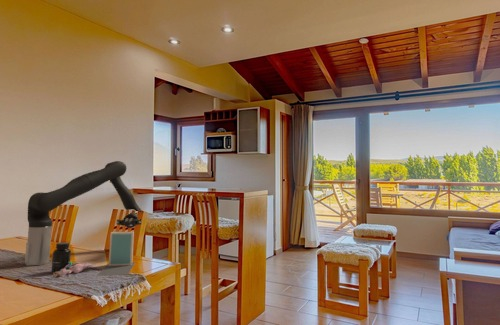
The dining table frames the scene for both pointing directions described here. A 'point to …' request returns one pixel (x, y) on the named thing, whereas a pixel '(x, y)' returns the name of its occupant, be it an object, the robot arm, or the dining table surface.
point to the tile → (121, 248)
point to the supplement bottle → (61, 257)
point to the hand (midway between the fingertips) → (126, 224)
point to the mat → (116, 270)
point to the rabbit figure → (75, 269)
